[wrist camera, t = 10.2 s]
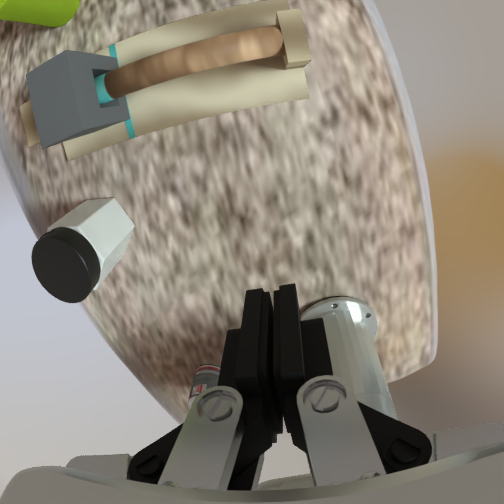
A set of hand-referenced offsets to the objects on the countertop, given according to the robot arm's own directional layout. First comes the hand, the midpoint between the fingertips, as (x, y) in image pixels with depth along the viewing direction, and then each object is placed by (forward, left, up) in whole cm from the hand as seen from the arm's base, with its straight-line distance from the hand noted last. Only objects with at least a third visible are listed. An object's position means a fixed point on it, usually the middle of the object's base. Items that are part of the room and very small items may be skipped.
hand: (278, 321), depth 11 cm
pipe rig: (+13, +10, -26) cm, 31 cm away
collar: (+13, +16, -24) cm, 32 cm away
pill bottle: (-32, +16, -27) cm, 45 cm away
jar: (-3, +23, -27) cm, 35 cm away
